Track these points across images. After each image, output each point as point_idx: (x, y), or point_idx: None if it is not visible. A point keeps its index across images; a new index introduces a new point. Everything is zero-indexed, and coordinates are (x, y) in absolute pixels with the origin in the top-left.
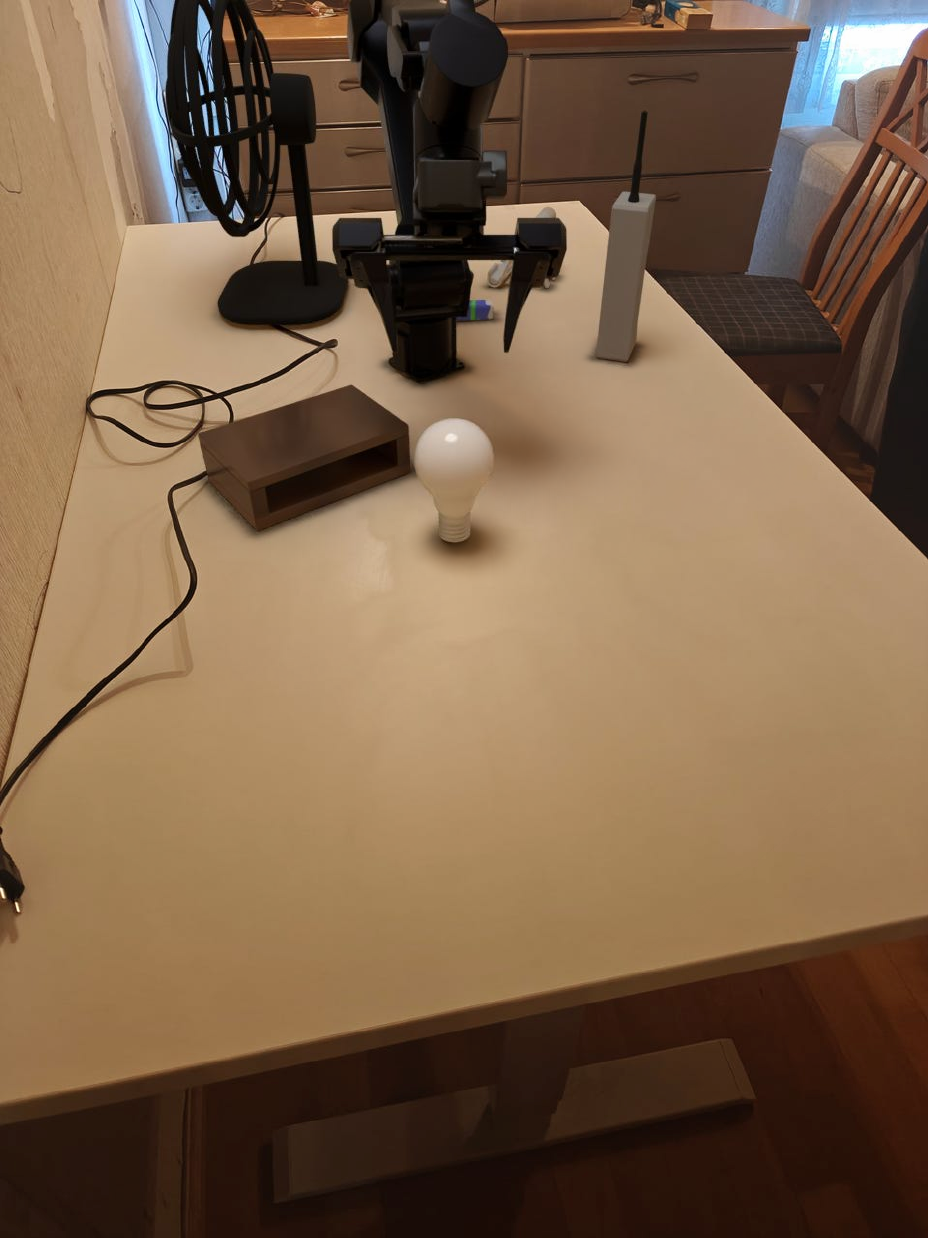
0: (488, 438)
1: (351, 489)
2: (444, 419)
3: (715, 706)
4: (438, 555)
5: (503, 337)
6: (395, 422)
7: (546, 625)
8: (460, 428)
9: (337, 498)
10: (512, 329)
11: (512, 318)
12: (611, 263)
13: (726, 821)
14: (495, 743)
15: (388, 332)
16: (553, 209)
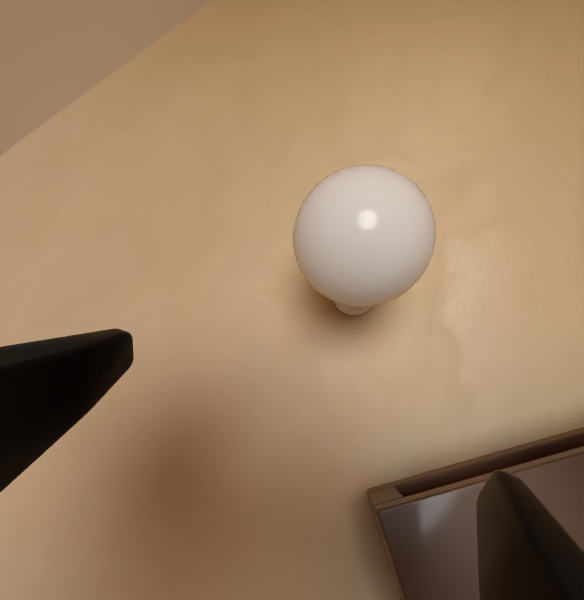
0: (300, 211)
1: (483, 458)
2: (377, 225)
3: (238, 78)
4: None
5: (91, 399)
6: (404, 535)
7: (312, 161)
8: (358, 178)
9: (506, 450)
10: (58, 340)
11: (15, 354)
12: None
13: (285, 21)
14: (398, 75)
15: (568, 539)
16: None
